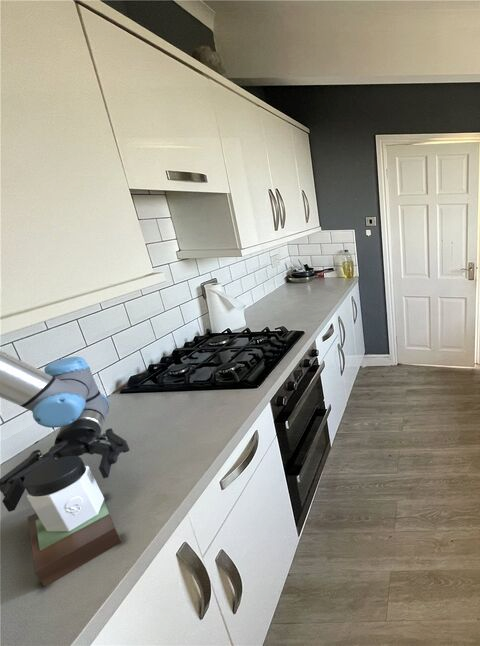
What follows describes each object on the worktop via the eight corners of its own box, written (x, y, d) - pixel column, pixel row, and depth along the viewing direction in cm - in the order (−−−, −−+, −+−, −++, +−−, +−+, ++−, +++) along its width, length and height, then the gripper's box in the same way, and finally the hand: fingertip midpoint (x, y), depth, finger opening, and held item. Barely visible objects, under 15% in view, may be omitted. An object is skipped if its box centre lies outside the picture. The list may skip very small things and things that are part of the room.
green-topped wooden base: (38, 533, 74) (27, 515, 72) (105, 499, 82) (97, 483, 80) (46, 590, 63) (34, 571, 61) (123, 545, 71) (114, 527, 69)
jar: (54, 542, 66) (26, 494, 62) (41, 523, 70) (14, 477, 66) (112, 507, 74) (90, 462, 69) (97, 491, 78) (76, 448, 73)
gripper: (148, 425, 93) (143, 474, 77) (13, 466, 80) (-28, 536, 63) (139, 401, 90) (132, 447, 74) (-2, 440, 77) (-49, 506, 61)
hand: (58, 488), depth 69 cm, fingers open, 13 cm apart
